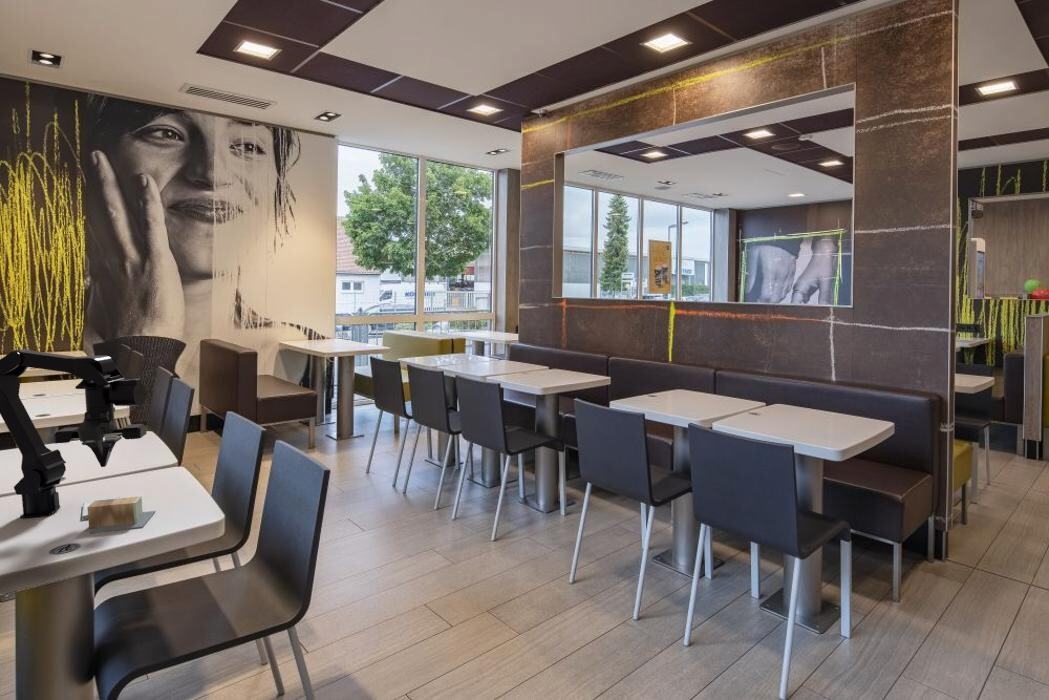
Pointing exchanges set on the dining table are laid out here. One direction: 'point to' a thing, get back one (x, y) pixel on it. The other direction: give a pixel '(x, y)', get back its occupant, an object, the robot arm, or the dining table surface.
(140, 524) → the grey mat
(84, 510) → the hard drive
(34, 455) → the robot arm
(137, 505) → the oak block
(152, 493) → the dining table surface
